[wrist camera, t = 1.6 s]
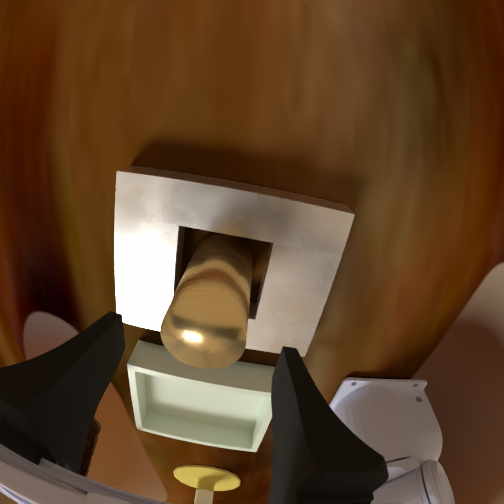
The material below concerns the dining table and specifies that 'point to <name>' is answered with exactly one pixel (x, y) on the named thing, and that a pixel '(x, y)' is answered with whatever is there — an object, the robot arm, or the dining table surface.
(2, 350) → the dining table surface
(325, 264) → the block
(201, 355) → the pin
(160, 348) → the tray
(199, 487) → the candle
